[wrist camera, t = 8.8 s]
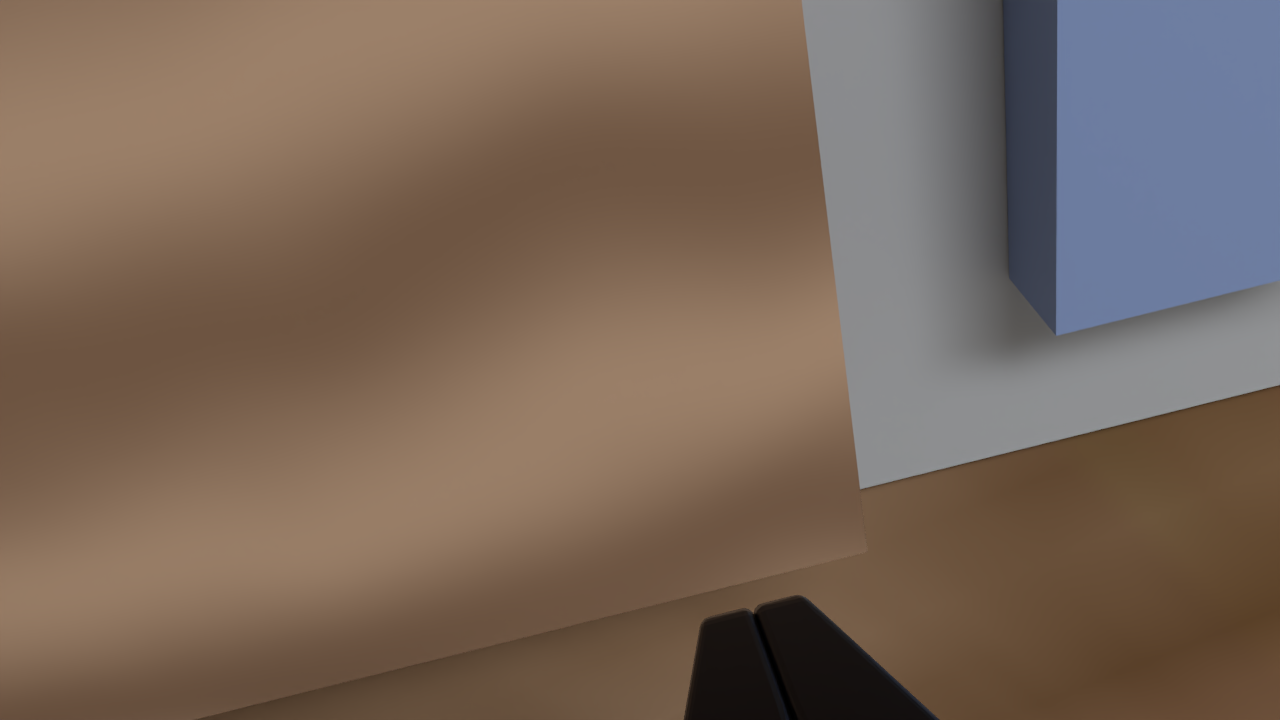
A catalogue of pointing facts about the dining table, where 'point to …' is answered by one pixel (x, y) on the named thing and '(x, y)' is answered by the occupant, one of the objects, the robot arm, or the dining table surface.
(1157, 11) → the card box
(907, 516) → the dining table surface
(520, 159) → the board
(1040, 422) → the mat
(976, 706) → the dining table surface
